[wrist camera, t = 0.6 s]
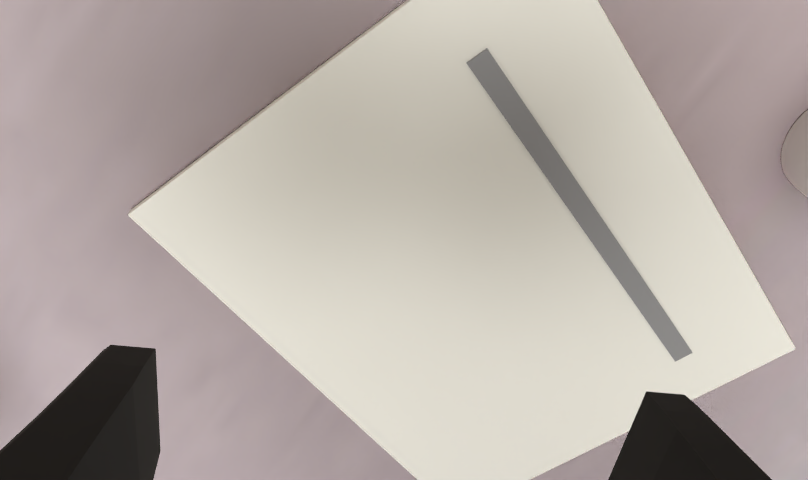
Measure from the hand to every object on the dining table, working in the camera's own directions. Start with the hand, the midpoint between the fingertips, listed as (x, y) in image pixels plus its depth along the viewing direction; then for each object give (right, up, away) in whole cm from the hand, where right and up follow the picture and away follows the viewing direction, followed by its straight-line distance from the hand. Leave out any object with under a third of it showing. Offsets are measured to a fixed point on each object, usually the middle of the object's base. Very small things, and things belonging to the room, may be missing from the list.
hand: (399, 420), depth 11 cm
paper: (+3, +1, +11) cm, 11 cm away
